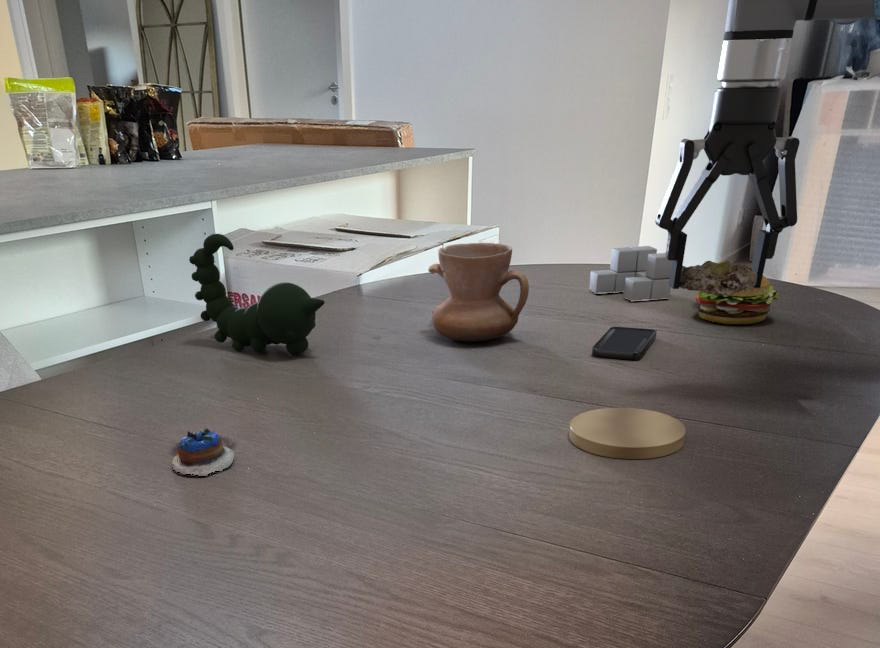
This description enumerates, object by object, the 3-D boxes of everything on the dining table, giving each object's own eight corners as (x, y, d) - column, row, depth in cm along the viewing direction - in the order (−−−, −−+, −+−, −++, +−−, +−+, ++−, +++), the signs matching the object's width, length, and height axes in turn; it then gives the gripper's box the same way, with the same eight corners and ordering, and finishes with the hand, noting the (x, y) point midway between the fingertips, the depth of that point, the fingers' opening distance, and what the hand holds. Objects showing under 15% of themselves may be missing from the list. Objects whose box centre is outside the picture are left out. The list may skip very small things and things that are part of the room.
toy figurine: (197, 359, 146) (315, 363, 134) (170, 239, 136) (295, 232, 125) (232, 345, 153) (347, 348, 141) (208, 230, 143) (330, 222, 131)
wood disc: (668, 417, 111) (670, 406, 110) (697, 458, 100) (699, 446, 99) (561, 419, 112) (562, 408, 111) (578, 460, 100) (579, 448, 99)
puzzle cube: (588, 291, 174) (592, 249, 169) (643, 287, 175) (649, 245, 171) (611, 304, 164) (615, 260, 160) (669, 300, 166) (675, 256, 161)
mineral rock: (766, 265, 112) (757, 258, 105) (758, 301, 113) (749, 295, 107) (684, 262, 117) (670, 255, 110) (677, 296, 118) (663, 291, 111)
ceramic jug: (410, 342, 145) (408, 252, 137) (448, 322, 156) (449, 238, 148) (507, 354, 138) (511, 260, 130) (540, 332, 148) (546, 244, 140)
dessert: (193, 442, 106) (208, 408, 102) (234, 475, 107) (251, 443, 103) (154, 470, 101) (168, 435, 97) (197, 505, 101) (213, 473, 97)
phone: (590, 348, 134) (612, 325, 146) (590, 356, 135) (611, 332, 146) (640, 353, 132) (658, 329, 143) (639, 360, 132) (657, 336, 143)
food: (766, 331, 145) (776, 281, 140) (684, 322, 151) (691, 275, 147) (783, 313, 154) (793, 266, 150) (705, 306, 161) (712, 261, 156)
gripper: (834, 81, 102) (790, 279, 115) (646, 86, 103) (623, 281, 116) (859, 83, 96) (810, 291, 108) (659, 88, 97) (633, 293, 109)
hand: (713, 286), depth 112 cm, fingers closed on mineral rock, 10 cm apart
